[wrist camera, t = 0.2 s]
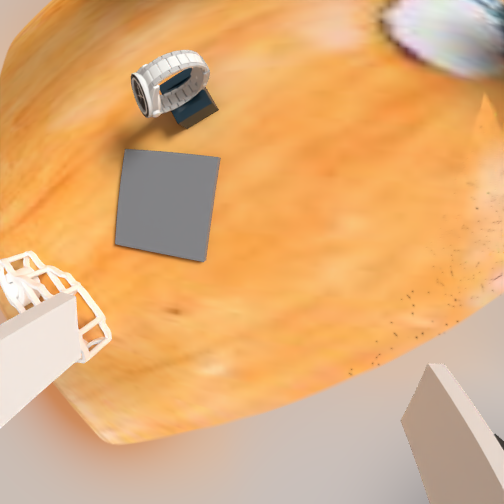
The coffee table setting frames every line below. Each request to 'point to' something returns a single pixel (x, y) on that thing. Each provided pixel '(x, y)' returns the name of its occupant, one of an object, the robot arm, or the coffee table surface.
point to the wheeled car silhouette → (49, 295)
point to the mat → (166, 202)
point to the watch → (174, 88)
